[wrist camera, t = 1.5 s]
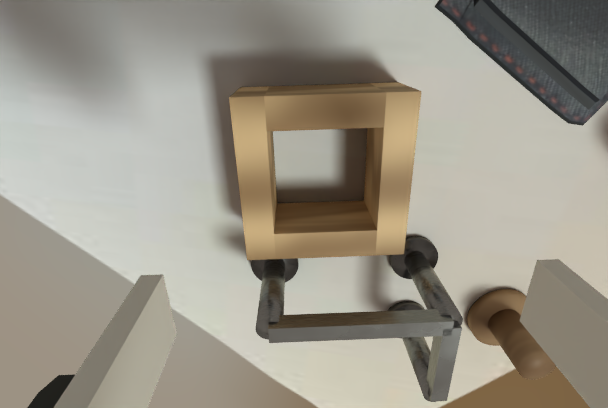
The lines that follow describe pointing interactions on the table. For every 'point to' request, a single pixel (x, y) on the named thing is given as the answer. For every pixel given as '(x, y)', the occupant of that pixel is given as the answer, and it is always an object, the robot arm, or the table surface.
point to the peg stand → (509, 331)
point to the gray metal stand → (375, 316)
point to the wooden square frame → (336, 214)
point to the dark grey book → (544, 47)
